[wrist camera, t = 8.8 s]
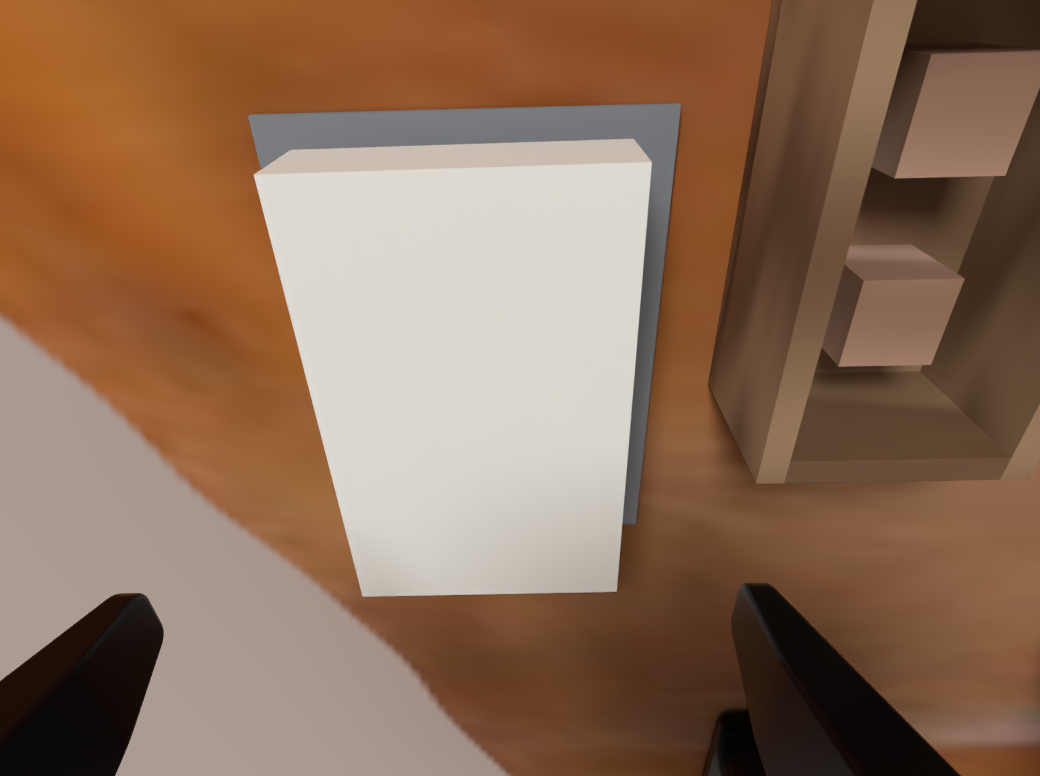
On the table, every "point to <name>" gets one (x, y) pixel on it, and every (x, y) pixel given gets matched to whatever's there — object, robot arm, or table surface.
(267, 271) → the table surface
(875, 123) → the box
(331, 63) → the table surface
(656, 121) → the mat
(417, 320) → the white rectangular block
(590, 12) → the table surface
